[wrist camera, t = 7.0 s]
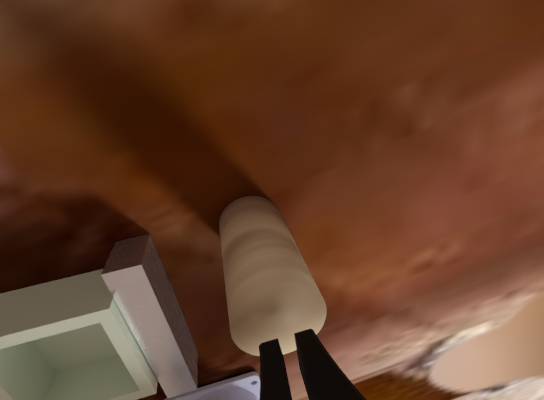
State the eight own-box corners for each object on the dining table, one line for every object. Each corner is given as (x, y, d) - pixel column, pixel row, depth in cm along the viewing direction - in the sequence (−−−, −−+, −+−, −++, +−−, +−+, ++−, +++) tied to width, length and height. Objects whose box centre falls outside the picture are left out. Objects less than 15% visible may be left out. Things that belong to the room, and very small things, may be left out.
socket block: (163, 339, 22) (156, 393, 19) (56, 369, 21) (27, 432, 18) (126, 260, 19) (109, 308, 15) (-4, 292, 18) (-55, 351, 14)
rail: (197, 350, 23) (197, 389, 20) (171, 358, 23) (167, 398, 20) (149, 233, 18) (141, 264, 15) (115, 241, 18) (100, 274, 15)
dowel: (284, 241, 20) (329, 340, 13) (226, 256, 20) (241, 367, 13) (276, 189, 18) (323, 272, 11) (212, 203, 18) (220, 300, 11)
